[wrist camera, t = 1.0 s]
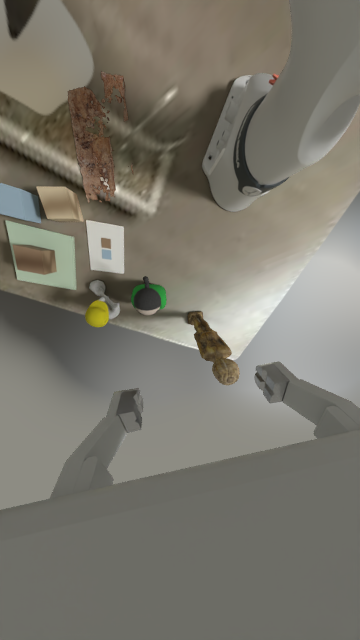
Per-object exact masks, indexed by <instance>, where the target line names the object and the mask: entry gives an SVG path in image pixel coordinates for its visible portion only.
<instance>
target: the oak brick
mask: <svg viewBox="0 0 360 640" xmlns="http://www.w3.org/2000/svg"><path fill="white" fill-rule="evenodd" d="M37 190H38V193H39V196H40V199H41V202H42V205H43V207H44V210H45V213H46V216H47V219H50V220H54V221H58V222H84V221H83V217H82V213H81V209H80V205H79V201H78V198H77V194H75V193H74V192H72V191H71V190H69V189H68V188H66V187H37Z"/></svg>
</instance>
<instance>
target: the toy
mask: <svg viewBox="0 0 360 640" xmlns="http://www.w3.org/2000/svg"><path fill="white" fill-rule="evenodd" d="M143 280H144V283H145V284H143V285H138V286H136V287H135V288H134V289H133V293H132V296H131V302H132V305H133V306H134V308H136V309H137V311H138V312H139V313H141V314H143V315H152V314H155V313H156V312H157V311H158V310H160V309H163V308H164V307H165V305H166V292H165V289H164V288H163V287H162V286H160V285H155V284H149V281H148V280H149V279H148V277H146V276H145V277H143Z"/></svg>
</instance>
